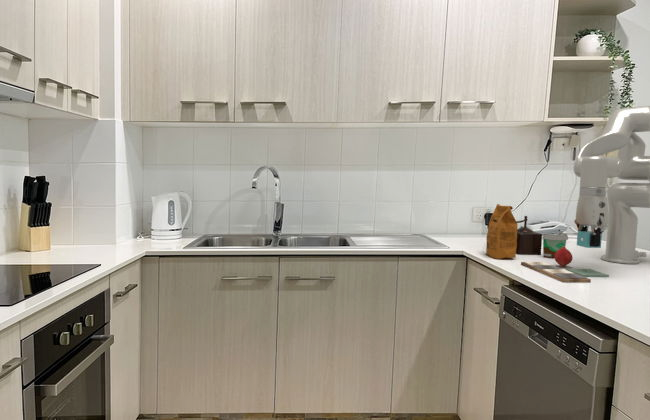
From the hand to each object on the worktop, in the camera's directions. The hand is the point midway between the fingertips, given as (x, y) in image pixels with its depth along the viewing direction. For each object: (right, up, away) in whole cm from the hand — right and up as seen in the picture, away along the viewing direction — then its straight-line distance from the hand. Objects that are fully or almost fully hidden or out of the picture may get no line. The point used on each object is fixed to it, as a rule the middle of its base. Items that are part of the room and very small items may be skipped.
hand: (588, 244), depth 135 cm
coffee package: (-18, -8, +28) cm, 34 cm away
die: (0, -1, 0) cm, 1 cm away
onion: (-3, -10, +11) cm, 15 cm away
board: (-12, -10, +1) cm, 16 cm away
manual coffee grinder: (-6, -7, +39) cm, 40 cm away
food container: (+6, -8, +28) cm, 30 cm away
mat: (0, -10, +1) cm, 10 cm away
